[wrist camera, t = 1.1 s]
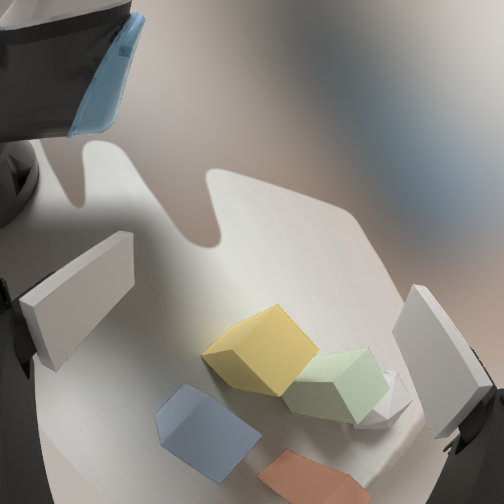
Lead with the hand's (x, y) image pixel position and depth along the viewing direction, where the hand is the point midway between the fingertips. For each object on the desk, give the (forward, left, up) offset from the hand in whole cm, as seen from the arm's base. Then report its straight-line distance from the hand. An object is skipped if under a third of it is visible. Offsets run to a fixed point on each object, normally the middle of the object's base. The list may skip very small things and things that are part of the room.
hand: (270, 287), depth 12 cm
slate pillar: (+6, -6, -20) cm, 22 cm away
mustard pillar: (+4, +2, -20) cm, 21 cm away
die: (+21, +11, -20) cm, 32 cm away
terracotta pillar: (+20, -3, -20) cm, 29 cm away
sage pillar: (+12, +6, -20) cm, 24 cm away
